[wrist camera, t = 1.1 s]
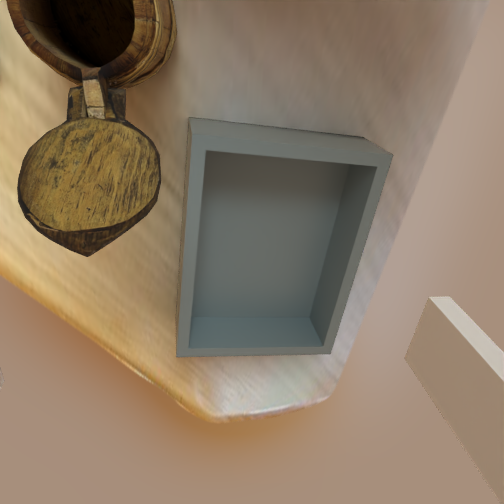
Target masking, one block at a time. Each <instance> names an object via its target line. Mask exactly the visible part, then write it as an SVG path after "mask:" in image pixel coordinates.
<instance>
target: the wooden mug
mask: <svg viewBox="0 0 504 504" xmlns="http://www.w3.org/2000/svg"><path fill="white" fill-rule="evenodd" d="M6 1H7V6H8V10H9V13H10V16H11V19H12V22H13V25H14V27H15V29H16V31H17V32H18V34H19V35H20V37H21V38H22V40H23V41H24V42H25V44H26V45H27V47H28V48H29V49H30V51H31V52H32V53H33V54H35V55H36V56H37V57H38V58H40V59H41V60H42V61H43V62H45V63H46V64H47V65H48V66H50V67H51V68H52V69H53V70H54V71H55V72H57V73H58V74H60V75H61V76H63V77H65V78H67V79H68V80H70V81H72V82H74V83H75V84H77V85H79V87H74V88H70V91H69V95H68V109H67V120H66V121H65V122H64V123H62V124H61V125H60V126H58V127H56V128H54V129H52V130H50V131H48V132H47V133H46V134H45V135H43V136H42V137H41V138H40V139H39V140H38V141H37V142H36V143H35V144H34V145H33V146H31V147H30V148H29V150H28V152H27V154H26V155H25V157H24V159H23V162H22V166H21V170H20V174H19V178H18V187H17V190H18V202H19V204H20V207H21V209H22V211H23V213H24V216H25V218H26V219H27V220H28V221H29V222H30V223H31V224H32V225H33V227H34V228H35V229H36V230H37V231H38V232H40V233H41V234H43V235H44V236H45V237H47V238H48V239H50V240H52V241H53V242H55V243H57V244H59V245H61V246H63V247H65V248H67V249H69V250H71V251H74V252H76V253H78V254H81V255H83V256H86V257H88V256H91V255H92V254H94V253H95V252H97V251H99V250H100V249H102V248H103V247H105V246H106V245H108V244H109V243H111V242H112V241H114V240H115V239H117V238H118V237H119V236H121V235H122V234H124V233H125V232H126V231H128V230H129V229H130V228H132V227H133V226H134V225H135V224H137V223H138V222H139V221H140V220H141V219H143V218H144V217H145V216H146V215H147V214H148V213H149V212H150V210H151V209H152V207H153V206H154V205H155V203H156V202H157V199H158V194H159V189H160V184H161V170H160V155H159V153H158V151H157V149H156V147H155V145H154V143H153V141H152V140H151V139H150V138H149V137H148V136H146V135H145V134H144V133H143V132H142V131H141V130H139V129H138V128H136V127H135V126H134V125H132V124H131V123H130V122H128V121H127V120H125V111H126V89H124V88H129V87H133V86H135V85H137V84H140V83H142V82H144V81H145V80H147V79H148V78H150V77H151V76H153V75H154V74H156V73H157V72H158V71H159V70H160V68H161V67H162V66H163V65H164V63H165V62H166V61H167V60H168V59H169V58H170V55H171V51H172V48H173V45H174V41H175V38H176V35H177V28H176V20H175V13H174V7H173V1H172V0H6Z"/></svg>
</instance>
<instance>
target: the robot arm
mask: <svg viewBox="0 0 504 504" xmlns="http://www.w3.org/2000/svg"><path fill="white" fill-rule="evenodd" d="M405 360H406V361H407V363H408V364H409V366H410V367H411V369H412V370H413V372H414V374H415V375H416V377H417V378H418V379H419V381H420V382H421V384H422V386H423V387H424V389H425V390H426V392H427V393H428V395H429V396H430V398H431V399H432V401H433V402H434V404H435V405H436V407H437V408H438V410H439V411H440V413H441V414H442V416H443V418H444V419H445V420H446V422H447V423H448V425H449V427H450V428H451V430H452V431H453V433H454V434H455V436H456V437H457V439H458V440H459V442H460V443H461V445H462V446H463V447H464V449H465V451H466V452H467V454H468V455H469V457H470V458H471V460H472V462H473V463H474V465H475V466H476V468H477V469H478V471H479V472H480V474H481V475H482V477H483V478H484V479H485V481H486V483H487V484H488V486H489V487H490V489H491V490H492V492H493V493H494V495H495V496H496V498H497V499H498V501H499V502H500V504H504V352H502V350H500V348H499V347H498V346H497V345H496V344H495V343H494V342H493V341H492V340H491V339H490V338H489V337H488V336H487V335H486V334H485V333H484V332H483V331H482V329H481V328H479V326H478V325H477V324H476V323H475V322H474V321H473V320H472V319H471V318H470V317H469V316H468V315H467V314H466V313H465V312H464V311H463V310H462V309H461V308H460V307H459V306H458V305H457V303H456V302H455V301H453V299H451V297H449V296H448V297H429V298H428V300H427V303H426V305H425V308H424V311H423V313H422V315H421V318H420V321H419V323H418V326H417V328H416V331H415V333H414V336H413V338H412V341H411V343H410V346H409V348H408V351H407V353H406V356H405ZM3 383H4V378H3V375H2V372H1V368H0V389H1V387H2V385H3Z"/></svg>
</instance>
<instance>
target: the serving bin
mask: <svg viewBox="0 0 504 504" xmlns="http://www.w3.org/2000/svg"><path fill="white" fill-rule="evenodd" d="M392 157H393V154H391V153H389V152H387V151H386V150H384V149H382V148H381V147H379V146H377V145H376V144H374V143H372V142H370V141H369V140H367V139H365V138H364V137H357V136H349V135H340V134H331V133H322V132H314V131H305V130H296V129H287V128H279V127H270V126H261V125H252V124H244V123H235V122H226V121H217V120H209V119H200V118H191V117H189V124H188V139H187V154H186V169H185V184H184V199H183V214H182V230H181V245H180V260H179V275H178V290H177V305H176V357H211V356H261V355H311V354H331V351H332V347H333V344H334V341H335V338H336V335H337V332H338V328H339V325H340V322H341V319H342V316H343V313H344V309H345V306H346V303H347V300H348V297H349V294H350V290H351V287H352V284H353V281H354V278H355V275H356V271H357V268H358V265H359V262H360V259H361V256H362V252H363V249H364V246H365V243H366V240H367V237H368V233H369V230H370V227H371V224H372V221H373V218H374V214H375V211H376V208H377V205H378V202H379V199H380V195H381V192H382V189H383V186H384V183H385V180H386V176H387V173H388V170H389V167H390V164H391V161H392Z"/></svg>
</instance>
